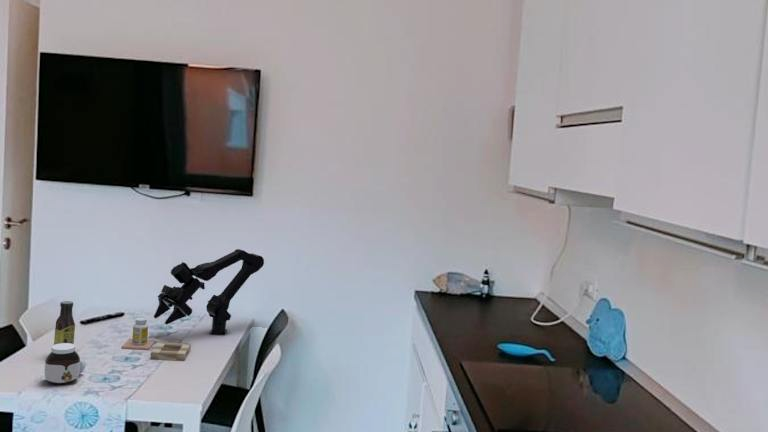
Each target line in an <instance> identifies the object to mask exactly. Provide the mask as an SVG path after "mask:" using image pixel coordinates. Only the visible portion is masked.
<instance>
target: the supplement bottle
mask: <svg viewBox="0 0 768 432" xmlns="http://www.w3.org/2000/svg"><path fill="white" fill-rule="evenodd" d="M147 320H148V319H147V318H146V317H136V318H135V323H134V324H133V326H132V338H131V339H132V343H133V344H135V345H143V344H146V343H147V340H148V331H149V325H148V324H147Z"/></svg>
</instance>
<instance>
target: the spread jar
mask: <svg viewBox="0 0 768 432" xmlns="http://www.w3.org/2000/svg"><path fill="white" fill-rule="evenodd" d="M50 348H51V349H50V351H51V352H50V353H48V355H47V356H46V358H45V361H44V378H45V380H46V382H47V383H49V384H51V386H52V385H53V386H58V385H61V386H67V384H68V385H71V384H73V383H74V382H75V381H76V380H77V379H78V378H79V375H80V374H82V373H83V372H84V371H85V369H86V366H87V364H86V362H85V359H83V358H82V357H81V356H80V355H79V354H78V352H77V351H76V345H75V343H74V344H71V343H60V344H55V345H54V344H53V345H52V346H51V347H50ZM70 383H71V384H70Z"/></svg>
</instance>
